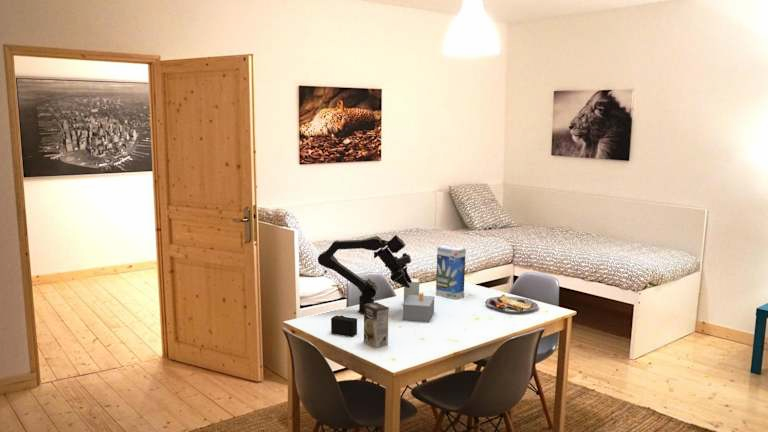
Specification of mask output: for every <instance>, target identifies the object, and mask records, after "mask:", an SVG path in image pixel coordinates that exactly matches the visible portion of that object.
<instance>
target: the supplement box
mask: <svg viewBox="0 0 768 432" xmlns="http://www.w3.org/2000/svg"><path fill="white" fill-rule="evenodd" d="M410 279H411V281H412V282H411V283H409V282H408V284H409V285H410V288H407V287H405V286H403V302H404V301H405V300H406V298H407V297H408V295H419V294H420V278H410Z"/></svg>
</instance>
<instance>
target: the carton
mask: <svg viewBox="0 0 768 432" xmlns="http://www.w3.org/2000/svg"><path fill="white" fill-rule="evenodd" d="M434 313H435V299H434V300H433V302H432V304H431V306H430V307H417V306H403V305H402V321H405V322H407V321H408V322H417V323H418V322H419V323H430V321H431V319H432V317H433V316H434Z"/></svg>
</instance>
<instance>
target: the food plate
mask: <svg viewBox="0 0 768 432" xmlns="http://www.w3.org/2000/svg"><path fill="white" fill-rule="evenodd" d="M485 305H487V306H488V307H491V308H494V309H495V310H497V311H500V312H508V313H523V312H528V311H529V312H530V311H533V310H536V309H538V308H539V304H538V302H537V303H536V302H535V301H533V300H531V299H528V298H523V297H517V296H507V295H505V294H502V295H501V296H495V297H490V298H487V299H486V300H485Z"/></svg>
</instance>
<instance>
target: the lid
mask: <svg viewBox="0 0 768 432" xmlns="http://www.w3.org/2000/svg"><path fill="white" fill-rule="evenodd" d="M433 300H434V301H435V296H433V295H424V292H419V295H408V297H407V298H406V300H405V301H404V300H403V303H402V307H403V306H417V307H430V306H431V304H432V302H433Z"/></svg>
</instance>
